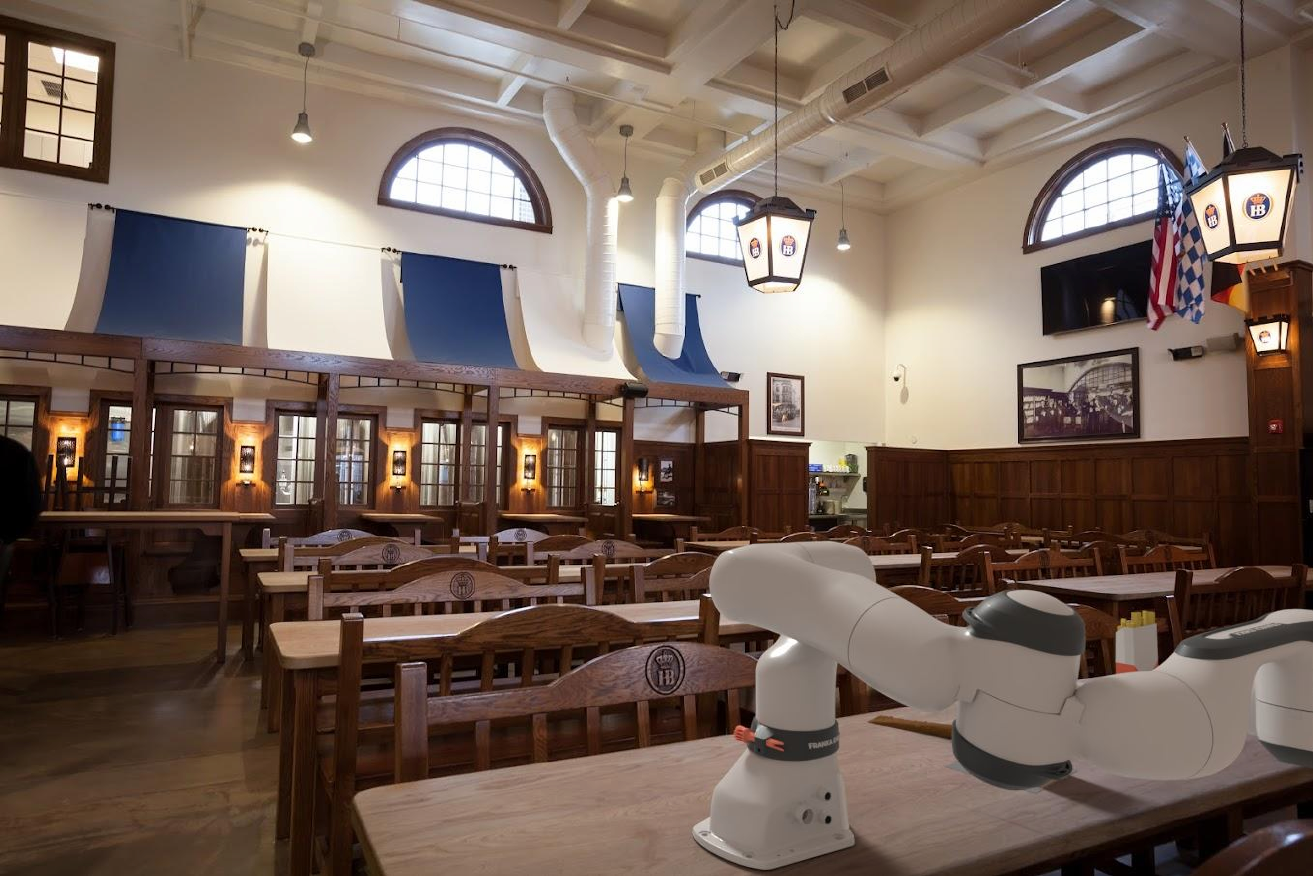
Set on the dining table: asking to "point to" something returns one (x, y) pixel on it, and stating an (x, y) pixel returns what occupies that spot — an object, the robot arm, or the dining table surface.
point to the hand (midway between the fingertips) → (1132, 679)
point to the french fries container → (1137, 643)
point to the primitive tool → (915, 726)
